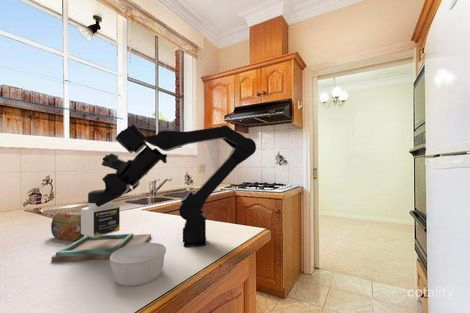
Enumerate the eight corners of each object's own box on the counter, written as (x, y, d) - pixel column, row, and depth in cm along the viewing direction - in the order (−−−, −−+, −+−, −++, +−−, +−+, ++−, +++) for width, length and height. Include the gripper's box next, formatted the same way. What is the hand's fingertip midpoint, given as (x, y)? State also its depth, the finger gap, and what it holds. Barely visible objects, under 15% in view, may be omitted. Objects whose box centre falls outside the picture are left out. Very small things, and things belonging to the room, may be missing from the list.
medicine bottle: (93, 238, 58) (93, 192, 58) (80, 234, 61) (80, 190, 62) (120, 230, 64) (120, 189, 64) (106, 227, 67) (106, 188, 68)
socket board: (151, 237, 73) (151, 231, 73) (134, 257, 57) (135, 248, 58) (86, 240, 71) (86, 233, 71) (51, 261, 55) (51, 252, 55)
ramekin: (105, 295, 41) (106, 266, 41) (112, 269, 51) (112, 246, 51) (168, 282, 45) (168, 256, 45) (163, 261, 55) (163, 239, 56)
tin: (49, 237, 74) (50, 212, 75) (60, 234, 77) (60, 210, 78) (79, 243, 69) (79, 215, 69) (89, 240, 72) (89, 213, 72)
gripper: (128, 147, 74) (91, 182, 71) (111, 141, 56) (60, 187, 53) (153, 170, 75) (118, 205, 72) (145, 171, 57) (97, 218, 54)
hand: (101, 203), depth 63 cm, fingers closed on medicine bottle, 6 cm apart
